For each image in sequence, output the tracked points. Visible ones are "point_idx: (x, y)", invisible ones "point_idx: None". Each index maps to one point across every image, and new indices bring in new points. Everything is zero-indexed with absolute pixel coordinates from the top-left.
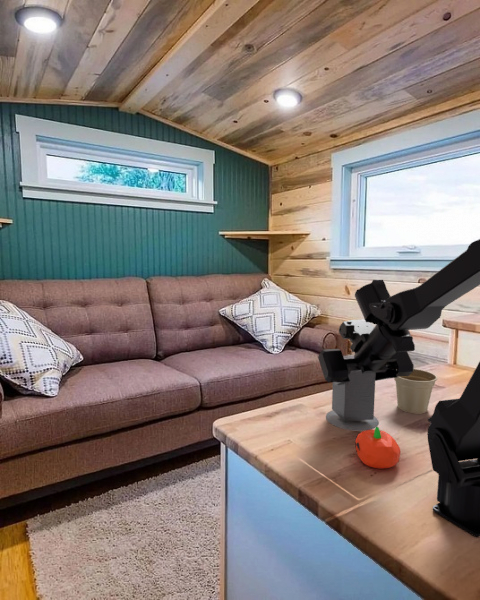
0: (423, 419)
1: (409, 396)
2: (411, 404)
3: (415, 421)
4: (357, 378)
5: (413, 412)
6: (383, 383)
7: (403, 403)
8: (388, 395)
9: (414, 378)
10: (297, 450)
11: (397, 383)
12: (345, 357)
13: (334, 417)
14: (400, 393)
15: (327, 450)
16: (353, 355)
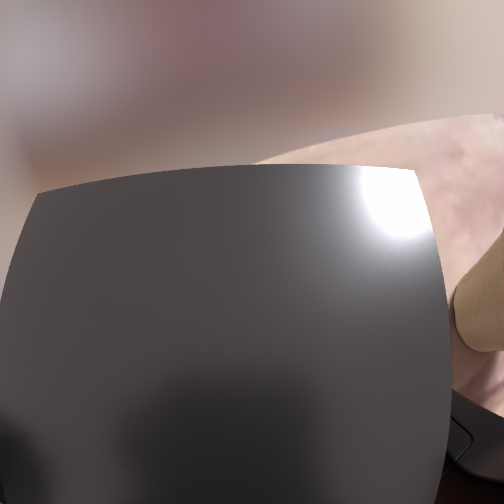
0: (481, 375)
1: (500, 339)
2: (487, 345)
3: (459, 391)
4: None
5: (476, 349)
6: (444, 139)
7: (472, 326)
8: (449, 202)
9: None
10: None
11: (502, 281)
12: (87, 258)
13: None
14: (486, 308)
15: None
16: (274, 168)
